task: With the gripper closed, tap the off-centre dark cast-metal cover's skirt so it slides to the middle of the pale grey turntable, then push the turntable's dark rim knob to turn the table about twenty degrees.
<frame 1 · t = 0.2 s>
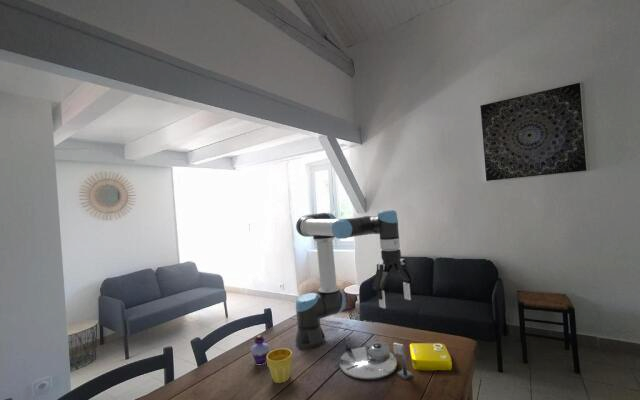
hand: (395, 303, 116), 28 cm above the table, fingers open, 13 cm apart
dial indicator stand: (405, 375, 114), on the table
element tile: (430, 362, 123), on the table
turntable: (365, 354, 125), point 4 cm above the table, hinge at 0.0°, touching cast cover
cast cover: (378, 355, 127), point 2 cm above the table, touching turntable
potion bottle: (261, 362, 133), on the table
plant pot: (281, 379, 119), on the table
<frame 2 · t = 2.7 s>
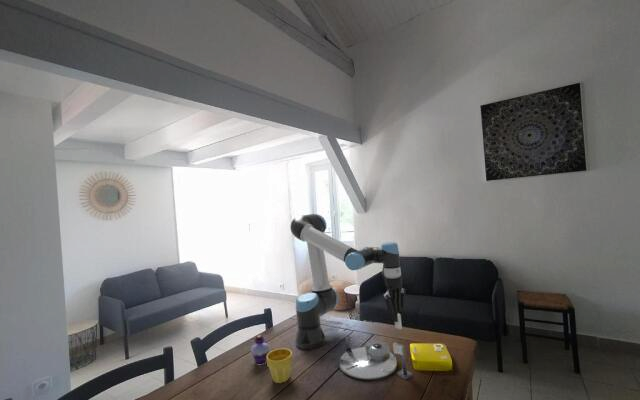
hand: (398, 328, 134), 10 cm above the table, fingers closed
nothing on the table moved.
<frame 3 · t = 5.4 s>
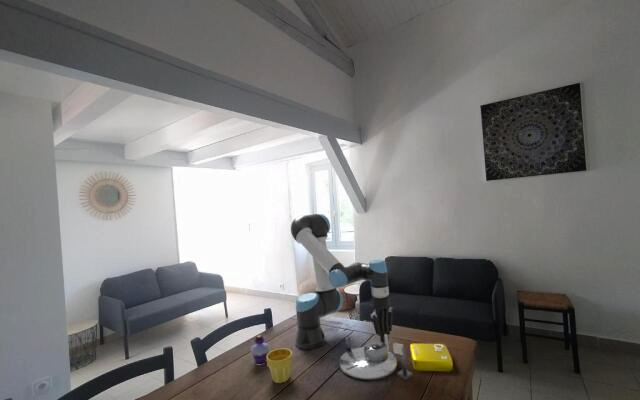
hand: (385, 348, 130), 3 cm above the table, fingers closed
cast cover: (376, 356, 127), point 2 cm above the table, touching gripper, turntable
everything else where it was.
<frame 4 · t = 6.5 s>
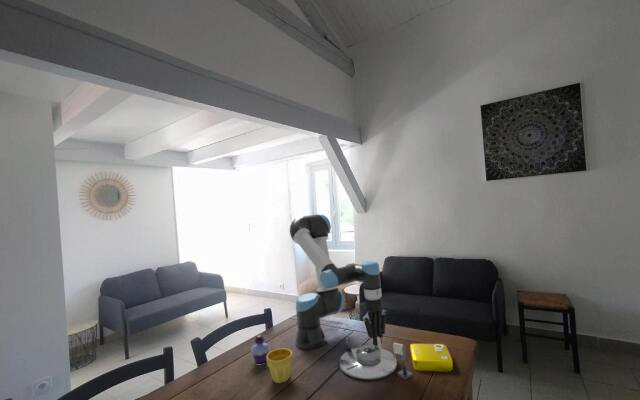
hand: (378, 352, 128), 3 cm above the table, fingers closed
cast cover: (368, 360, 124), point 2 cm above the table, touching gripper, turntable
everything else where it was.
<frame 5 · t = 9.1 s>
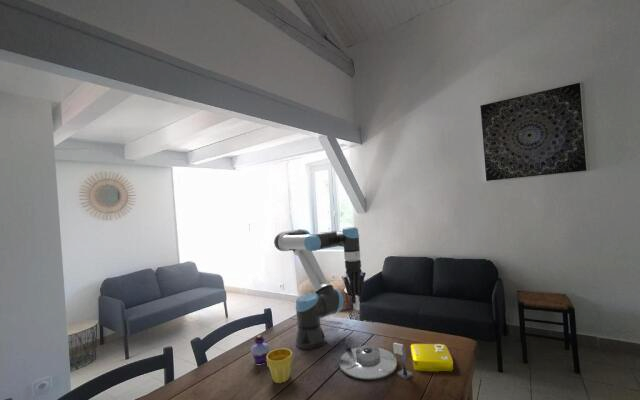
hand: (356, 309, 140), 18 cm above the table, fingers closed
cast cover: (368, 360, 124), point 2 cm above the table, touching turntable
everything else where it was.
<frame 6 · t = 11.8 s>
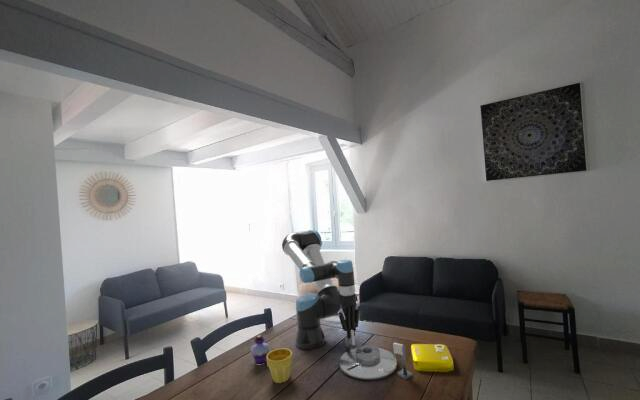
hand: (352, 344, 137), 3 cm above the table, fingers closed
turntable: (365, 354, 125), point 4 cm above the table, hinge at 2.3°, touching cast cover, gripper
everything else where it was.
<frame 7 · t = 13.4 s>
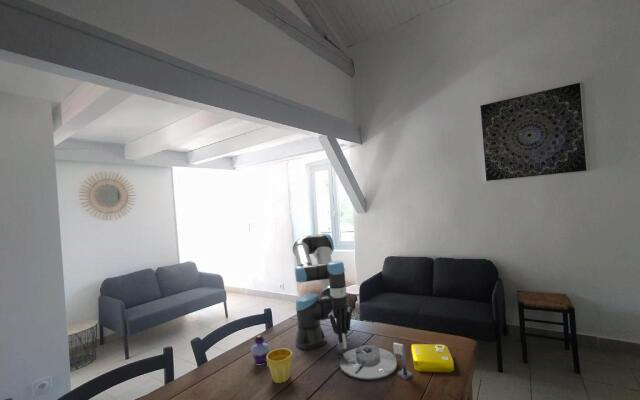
hand: (343, 347, 134), 3 cm above the table, fingers closed
turntable: (364, 355, 125), point 4 cm above the table, hinge at 24.7°, touching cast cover, gripper
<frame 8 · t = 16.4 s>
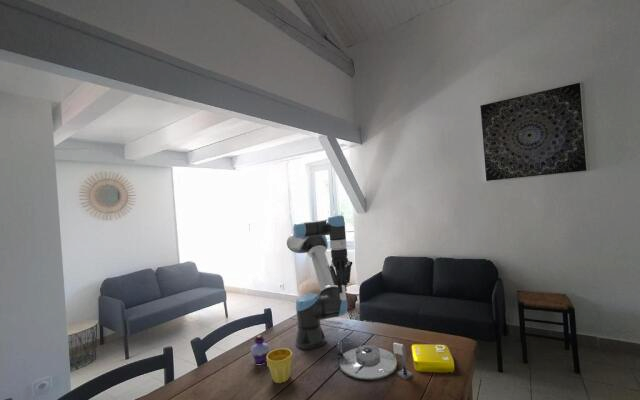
hand: (343, 299, 136), 24 cm above the table, fingers closed
turntable: (364, 355, 125), point 4 cm above the table, hinge at 24.7°, touching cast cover
at the end: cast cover 0.4 cm from the turntable (horizontally); turntable at +25° (first picture: +0°); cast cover tilted 0° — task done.
